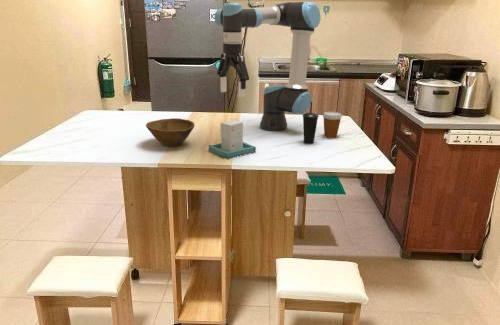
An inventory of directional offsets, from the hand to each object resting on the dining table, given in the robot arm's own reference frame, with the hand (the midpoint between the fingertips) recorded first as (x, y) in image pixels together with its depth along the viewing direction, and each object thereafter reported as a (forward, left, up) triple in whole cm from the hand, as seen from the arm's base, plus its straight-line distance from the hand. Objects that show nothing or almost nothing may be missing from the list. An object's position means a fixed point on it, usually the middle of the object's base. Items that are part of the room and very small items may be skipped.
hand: (232, 94), depth 175 cm
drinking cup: (+10, +39, -26) cm, 48 cm away
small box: (0, 0, -26) cm, 26 cm away
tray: (0, 0, -26) cm, 26 cm away
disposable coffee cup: (+9, +56, -26) cm, 62 cm away
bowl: (-26, -17, -26) cm, 41 cm away
